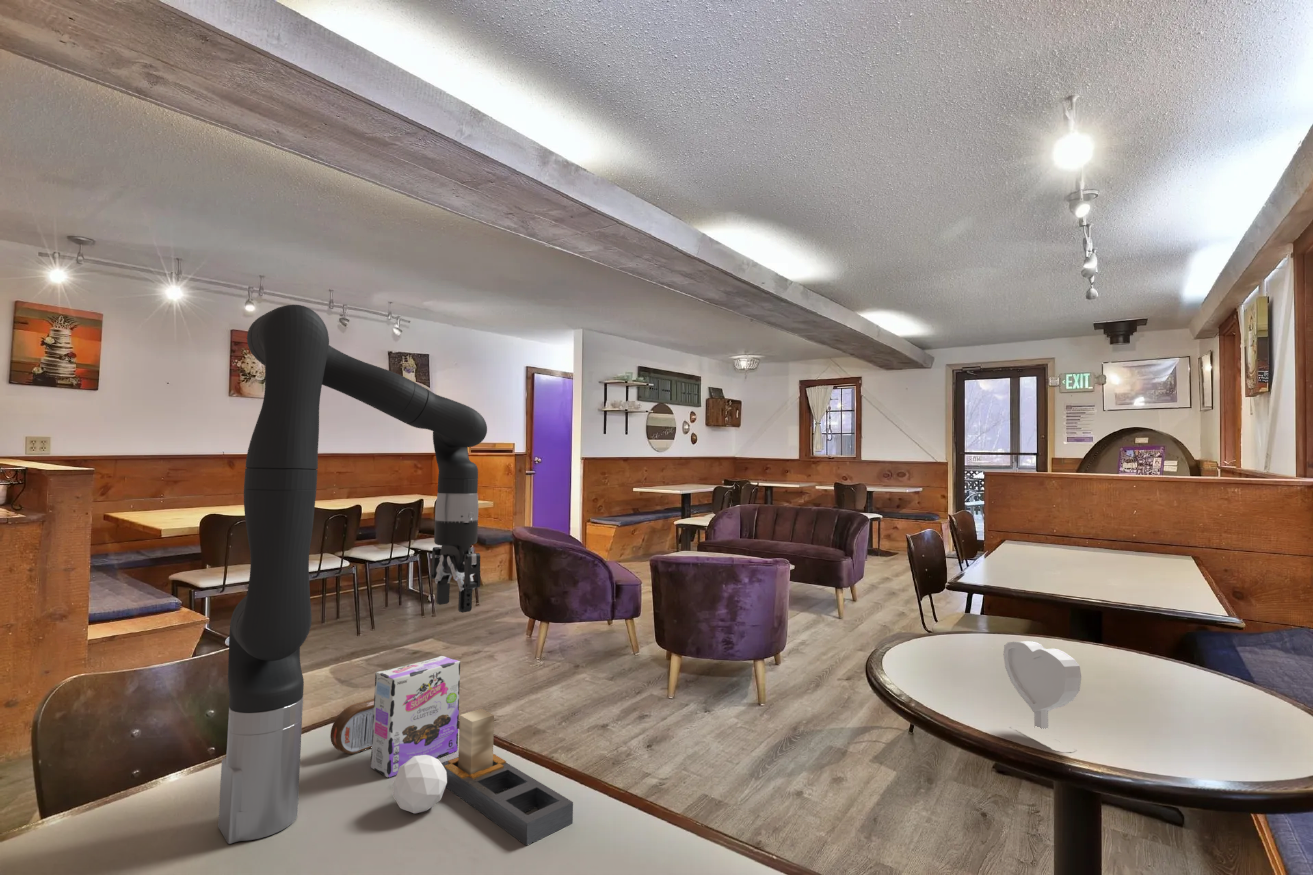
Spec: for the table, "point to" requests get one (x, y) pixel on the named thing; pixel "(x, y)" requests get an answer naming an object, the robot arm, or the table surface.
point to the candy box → (415, 713)
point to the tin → (354, 728)
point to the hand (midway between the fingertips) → (453, 607)
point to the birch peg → (476, 741)
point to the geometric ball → (419, 783)
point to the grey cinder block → (511, 799)
